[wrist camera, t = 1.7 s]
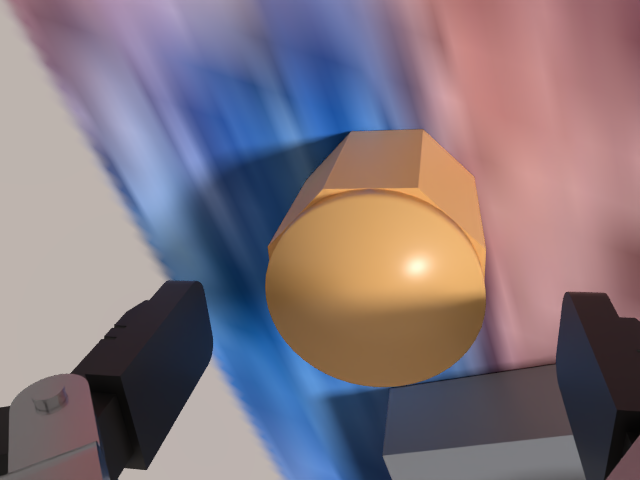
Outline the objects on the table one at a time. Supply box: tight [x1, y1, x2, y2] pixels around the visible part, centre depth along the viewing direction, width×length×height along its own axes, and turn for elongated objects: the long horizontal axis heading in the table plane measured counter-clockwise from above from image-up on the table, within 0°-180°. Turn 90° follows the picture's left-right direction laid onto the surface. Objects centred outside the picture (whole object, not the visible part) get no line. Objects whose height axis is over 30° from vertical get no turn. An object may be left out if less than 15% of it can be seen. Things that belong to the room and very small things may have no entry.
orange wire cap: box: [265, 129, 486, 387], centre depth 14 cm, size 5×5×5 cm
